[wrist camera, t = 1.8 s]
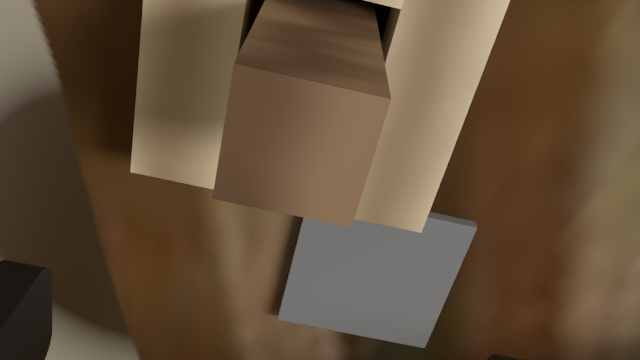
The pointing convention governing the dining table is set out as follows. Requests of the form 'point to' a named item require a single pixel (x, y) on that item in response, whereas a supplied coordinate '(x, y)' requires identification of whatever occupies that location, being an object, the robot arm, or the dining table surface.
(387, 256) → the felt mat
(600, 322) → the dining table surface
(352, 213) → the walnut block
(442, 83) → the pocket frame
